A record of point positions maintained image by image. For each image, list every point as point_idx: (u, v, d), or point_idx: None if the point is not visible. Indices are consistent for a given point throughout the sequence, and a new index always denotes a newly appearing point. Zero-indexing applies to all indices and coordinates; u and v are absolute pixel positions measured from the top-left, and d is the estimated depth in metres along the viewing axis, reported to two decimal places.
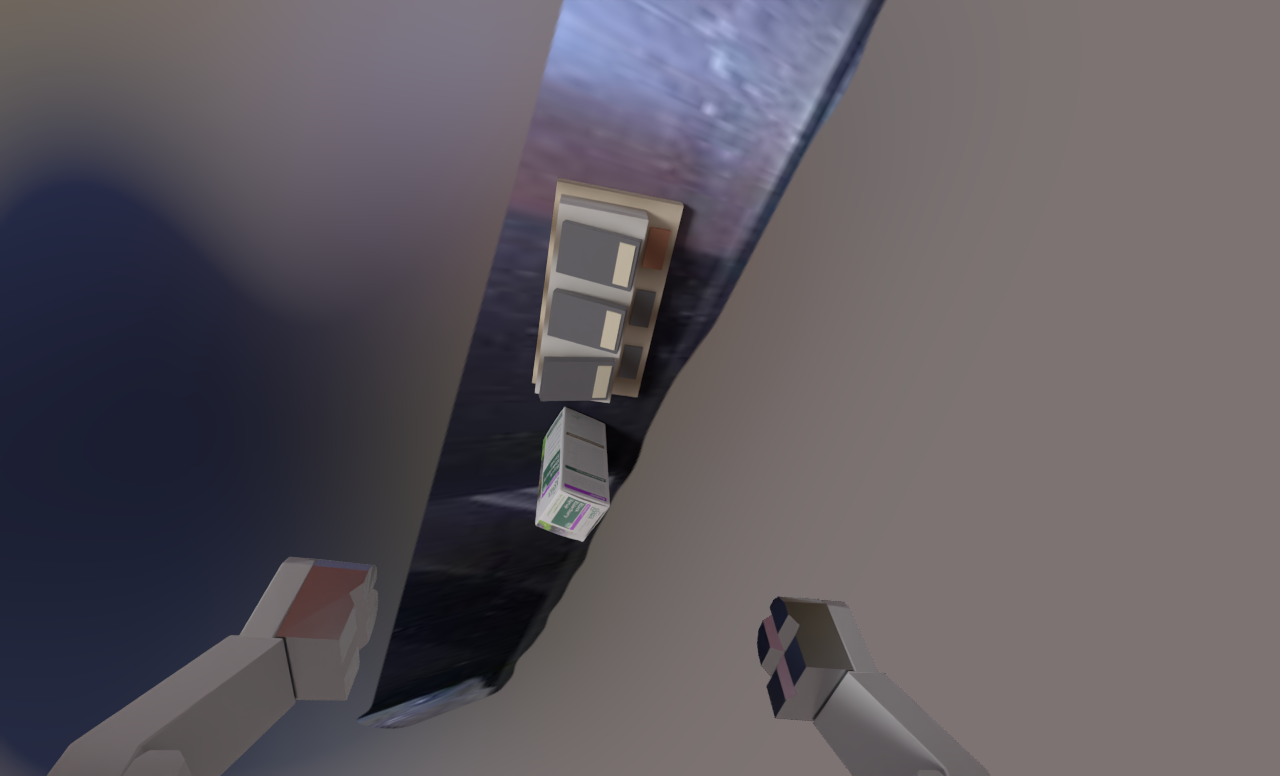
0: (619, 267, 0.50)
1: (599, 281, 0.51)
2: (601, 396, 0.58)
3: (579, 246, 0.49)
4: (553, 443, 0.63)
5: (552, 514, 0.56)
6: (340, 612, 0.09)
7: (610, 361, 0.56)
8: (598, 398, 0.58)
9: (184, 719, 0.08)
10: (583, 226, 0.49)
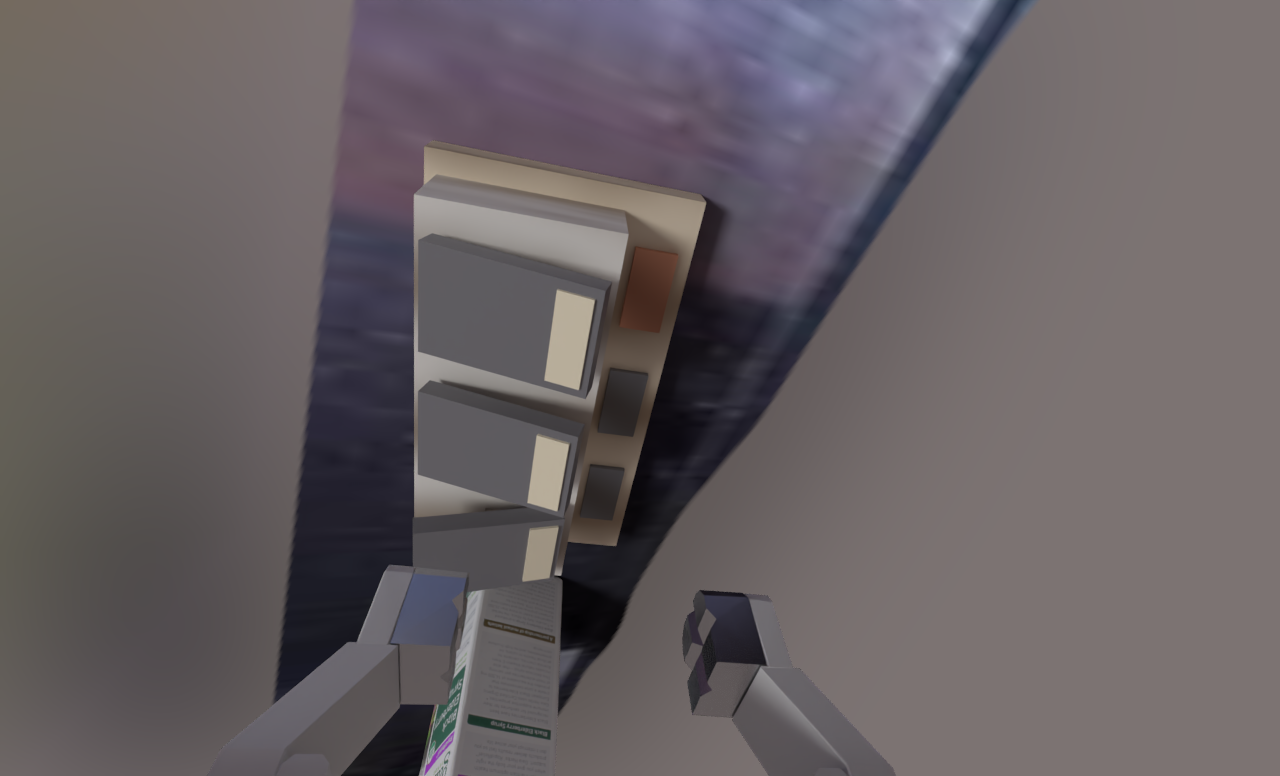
0: (558, 345, 0.21)
1: (516, 374, 0.22)
2: (541, 577, 0.30)
3: (463, 297, 0.21)
4: None
5: None
6: (446, 619, 0.10)
7: (555, 517, 0.28)
8: (535, 580, 0.30)
9: (319, 724, 0.08)
10: (469, 250, 0.20)
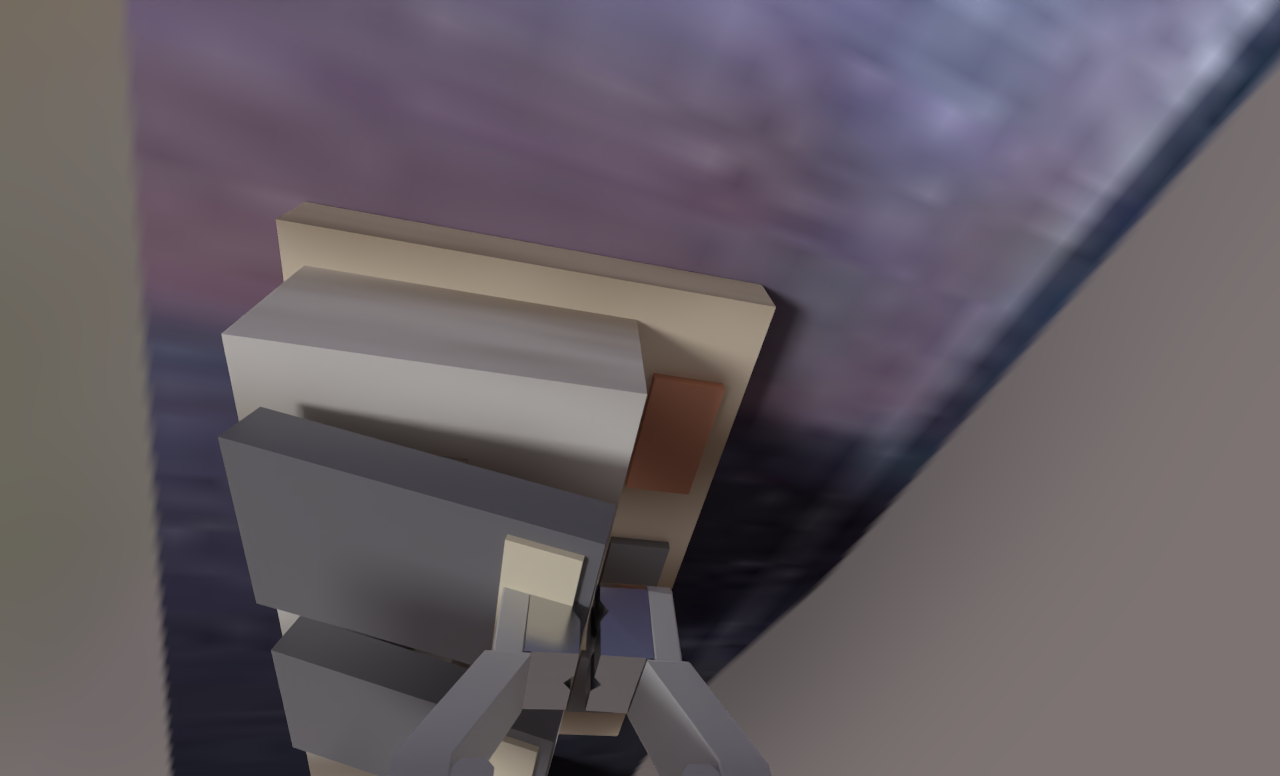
0: None
1: (438, 649, 0.12)
2: None
3: (324, 533, 0.11)
4: None
5: None
6: (570, 627, 0.10)
7: None
8: None
9: (474, 729, 0.08)
10: (327, 454, 0.10)
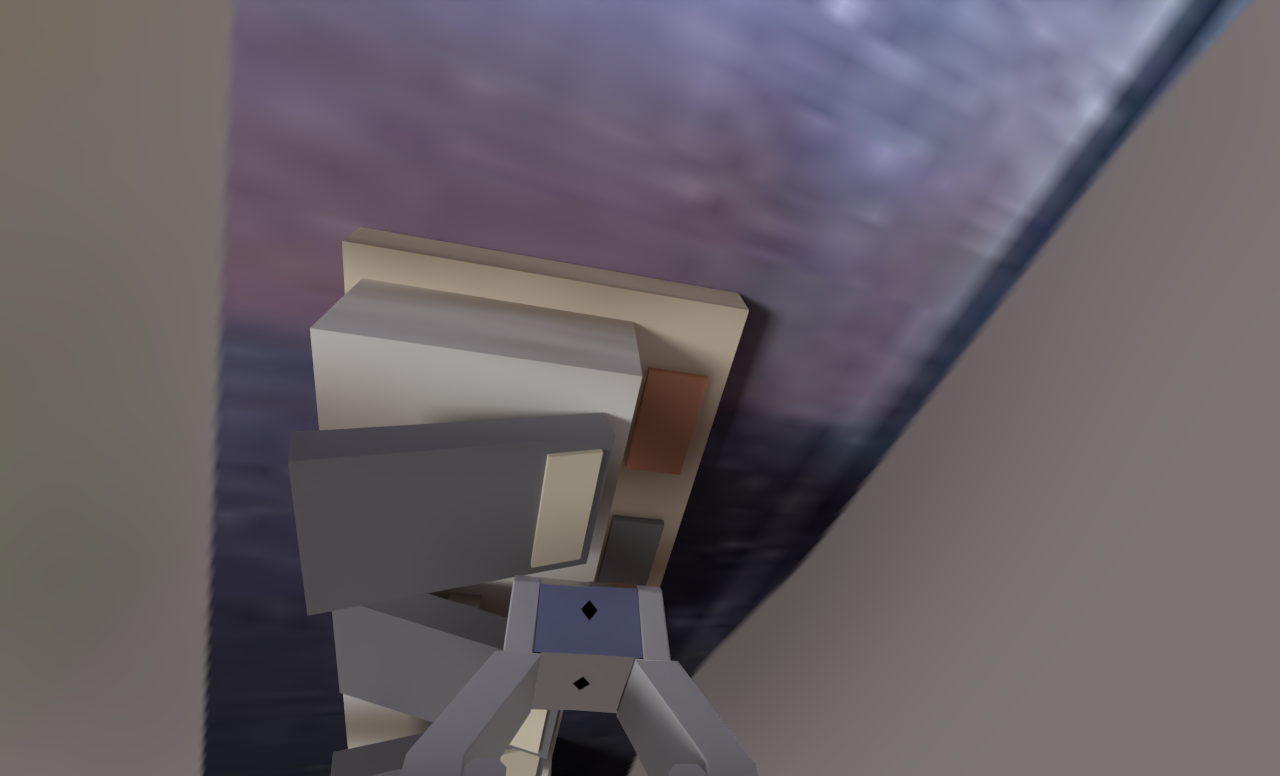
0: (548, 519, 0.15)
1: (485, 577, 0.15)
2: None
3: (390, 514, 0.13)
4: None
5: None
6: (580, 628, 0.10)
7: None
8: None
9: (486, 729, 0.08)
10: (388, 445, 0.12)
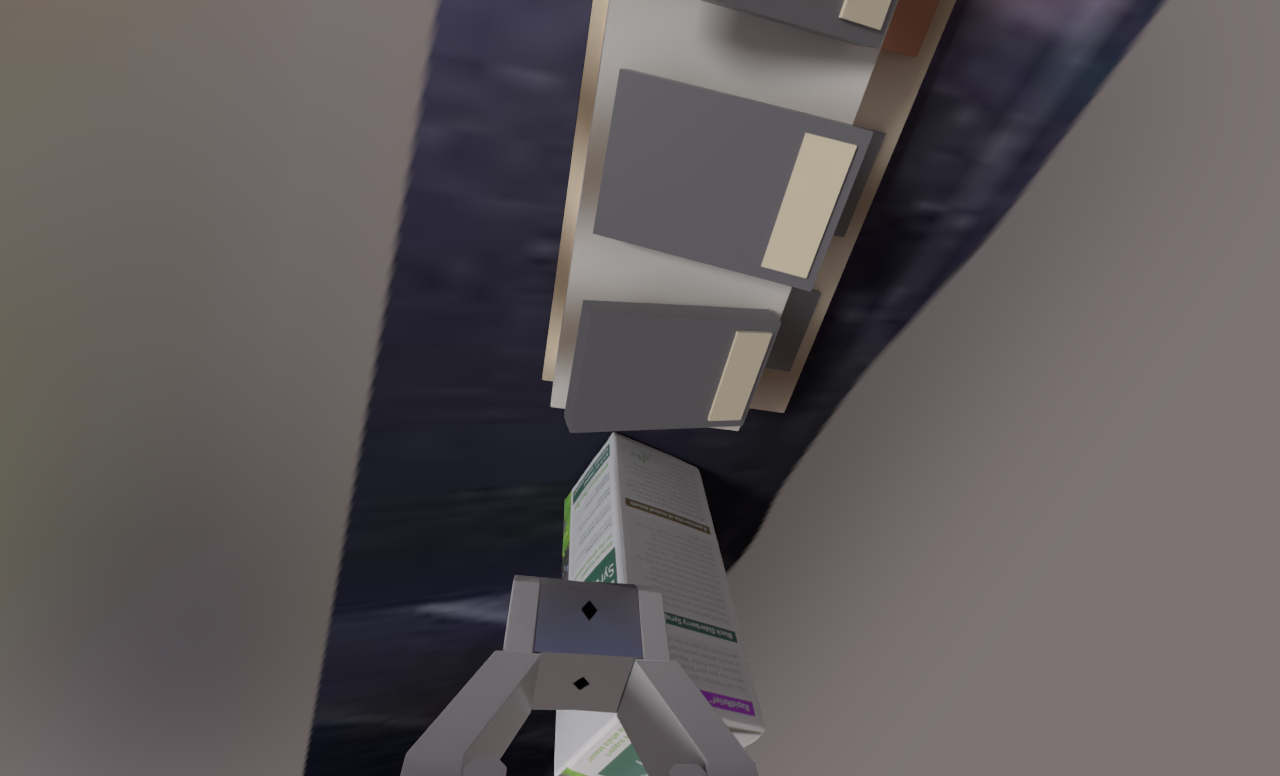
0: None
1: (800, 15, 0.14)
2: (731, 417, 0.21)
3: None
4: (592, 523, 0.27)
5: (602, 758, 0.19)
6: (580, 628, 0.10)
7: (768, 319, 0.20)
8: (722, 422, 0.22)
9: (486, 729, 0.08)
10: None
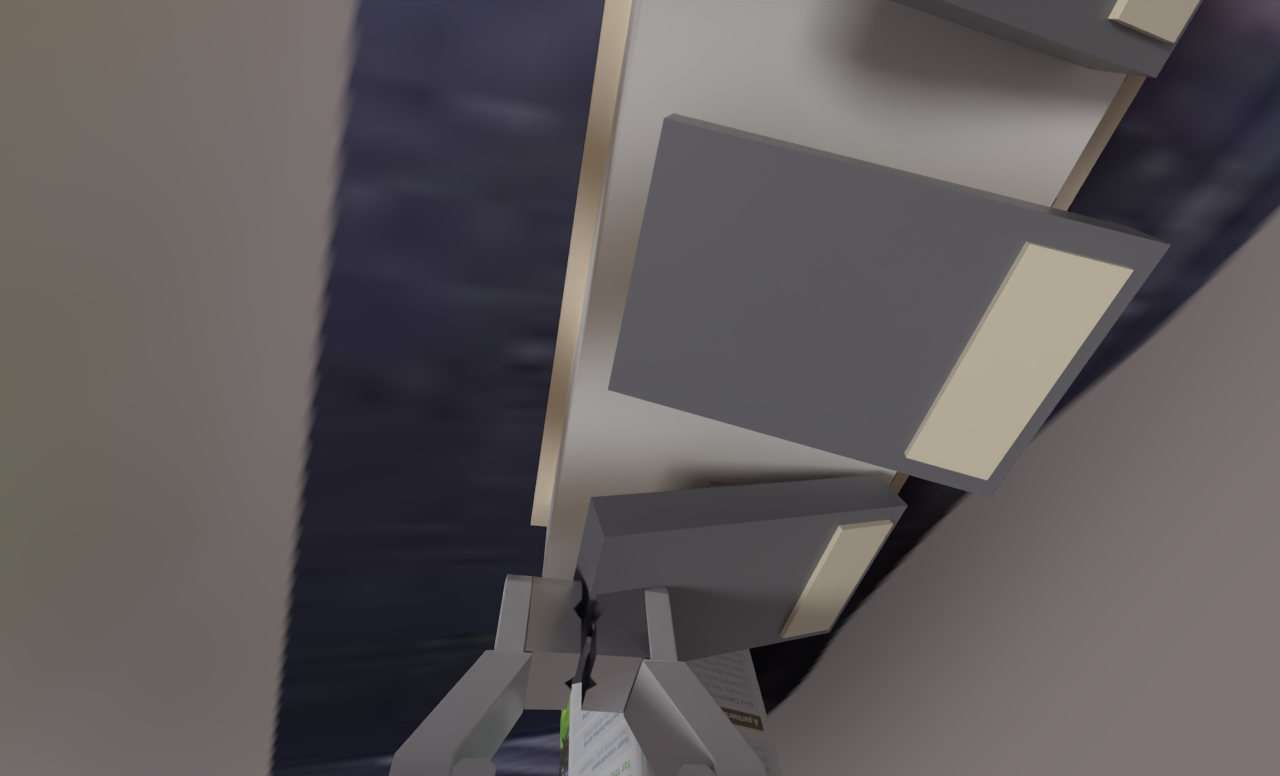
0: None
1: (1043, 14, 0.07)
2: (816, 628, 0.14)
3: None
4: (601, 721, 0.19)
5: None
6: (572, 627, 0.10)
7: (887, 501, 0.12)
8: None
9: (476, 729, 0.08)
10: None
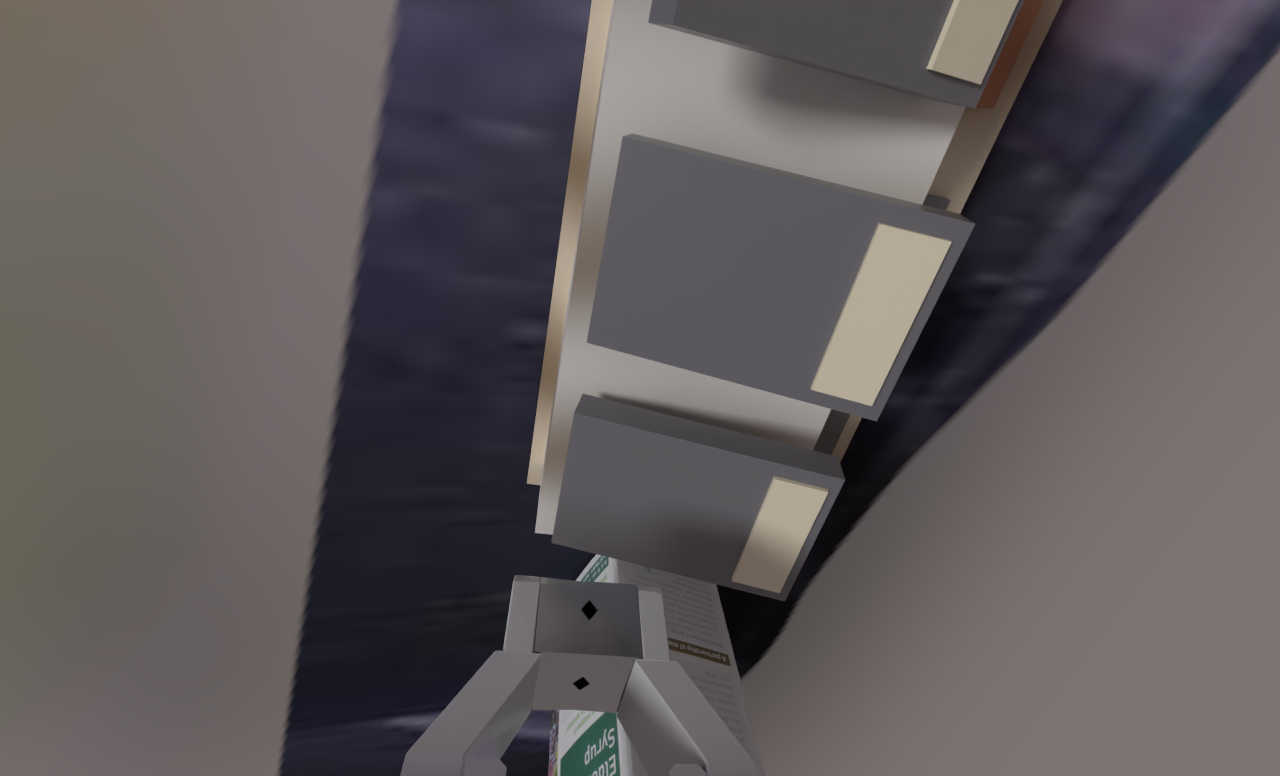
0: None
1: (876, 66, 0.10)
2: (765, 585, 0.16)
3: None
4: None
5: None
6: (580, 628, 0.10)
7: (826, 471, 0.14)
8: (753, 588, 0.16)
9: (486, 729, 0.08)
10: None
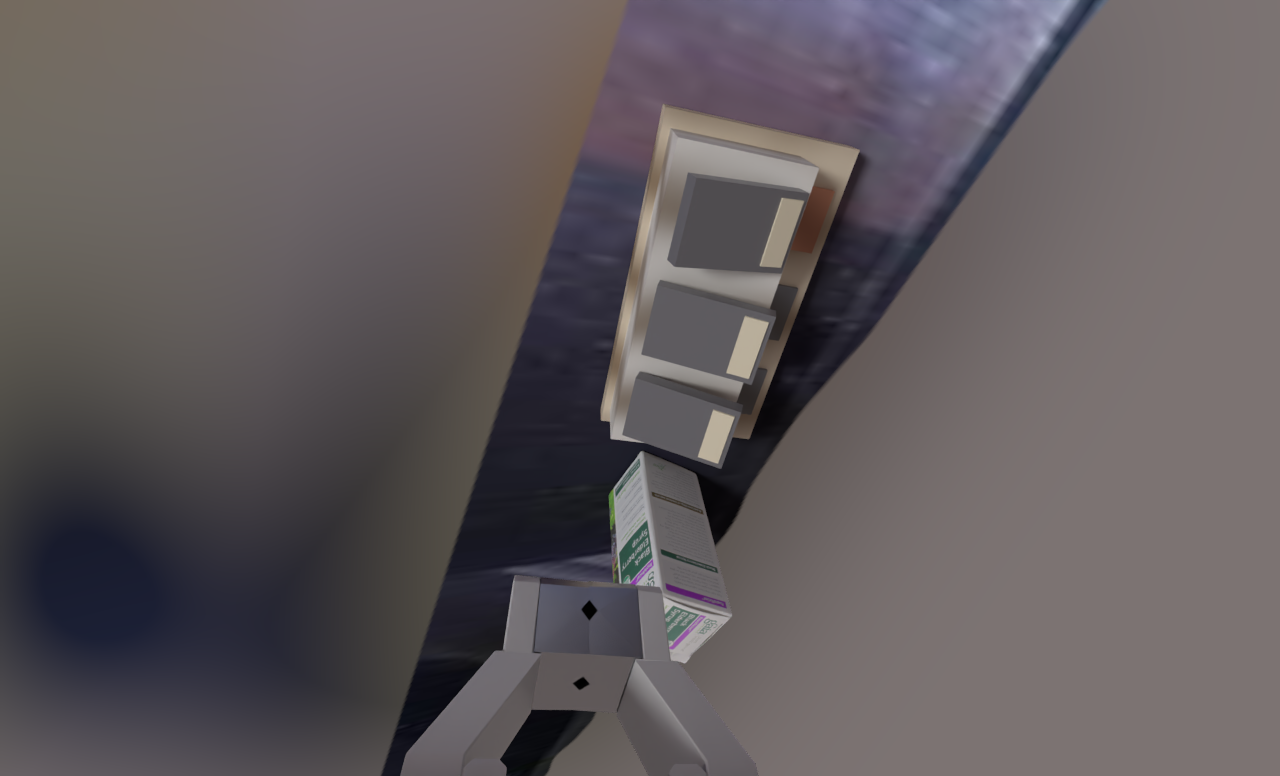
0: (773, 238, 0.31)
1: (740, 267, 0.31)
2: (711, 459, 0.37)
3: (718, 216, 0.29)
4: (631, 507, 0.43)
5: None
6: (580, 628, 0.10)
7: (734, 409, 0.35)
8: (707, 461, 0.37)
9: (486, 729, 0.08)
10: (725, 180, 0.28)
